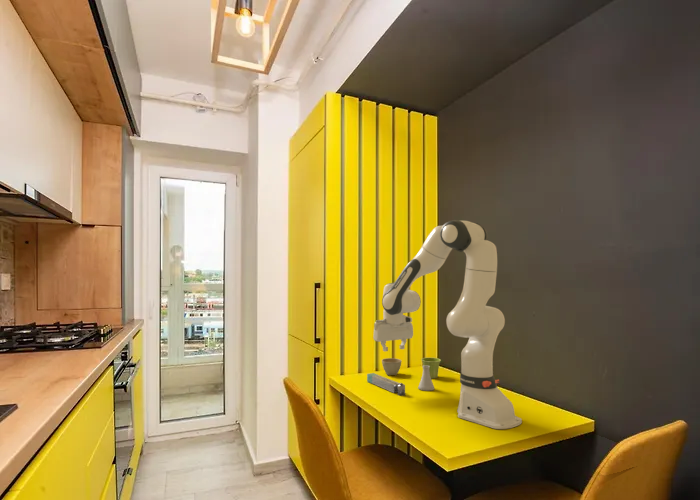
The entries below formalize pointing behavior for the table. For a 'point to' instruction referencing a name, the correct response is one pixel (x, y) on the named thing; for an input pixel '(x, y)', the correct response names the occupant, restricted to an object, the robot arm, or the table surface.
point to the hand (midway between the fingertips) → (393, 350)
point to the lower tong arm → (385, 378)
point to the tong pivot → (401, 389)
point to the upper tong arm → (382, 383)
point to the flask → (426, 380)
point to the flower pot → (391, 365)
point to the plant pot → (432, 366)
